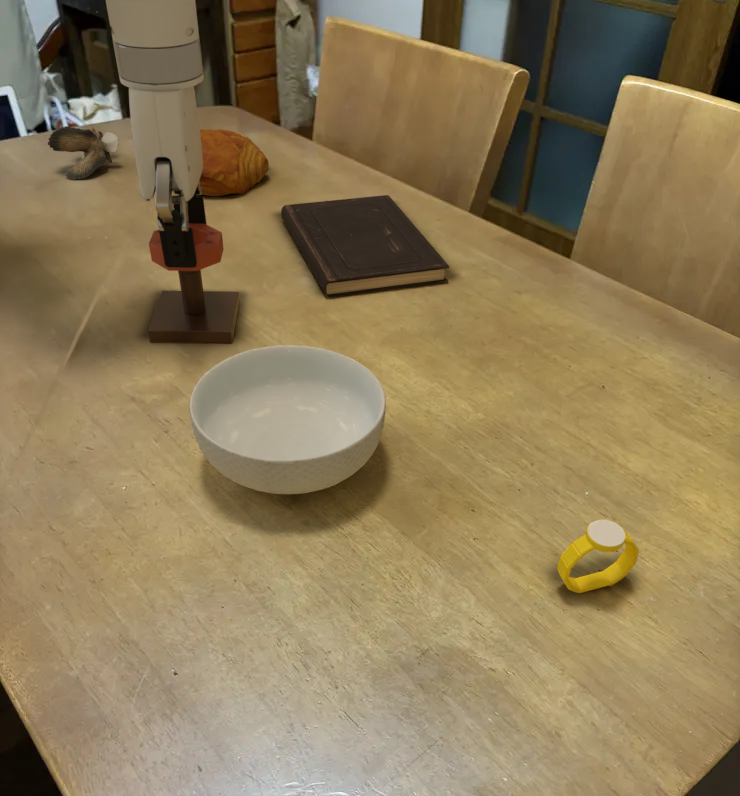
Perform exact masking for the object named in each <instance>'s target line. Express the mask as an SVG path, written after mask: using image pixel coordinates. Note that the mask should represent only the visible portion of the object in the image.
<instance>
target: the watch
mask: <svg viewBox="0 0 740 796" xmlns="http://www.w3.org/2000/svg"><path fill="white" fill-rule="evenodd" d="M624 544H625V545H624ZM623 546H624V550H623V552H622V553H621V554H620V556H618V558H617V560H616V561H614V562H613V563H612V564H611V565H609V566H608V567H606V568H605V569H603V570H602V571H598V572H593V573H590V574H586V575H582V576H578V577H572V576H570V575H571V572H572V569H573V568H574V567H575V566H576V564H578V562H579V561H580V560H581V559H582V558H583V557H584V556H586V555H588V554H589V553H591V552H592V551H594V550H597V551H599V552H602V553H615V552H617V551H619V550H621V548H623ZM639 552H640V550H639V547H638V546H637V544H636V543H635V541H634V540H633V539H632V537H631V536H630V534H629V533H628V532H627V530H625V529H624V528H623V527H621V525H620V524H618V523H616V522H615V521H612V520H609V519H597V520H594V521H591V522H590V523H589V524H588V525H587V527H586V530H585V534H583V535H582V536H580V537H578V538H576V539H575V540H574V541H572V542H571V543H570V544H569V545H568V546H567V548H566V549H565V550H564V551H563V552H562V553H561V555H560V557H559V560H558V563H557V566H556V570H557V572H558V574H559V576H560V578H561V580H562V581H563V583H564V585H565V587H566V589H568V590H569V591H571V592H574V593H576V594H582V593H587V592H589V591H593V590H597V589H600V588H604V587H605V588H606V587H613V586H614V585H615V584H617V583H618V582H619V581H620V580H622V579H623V578H625V577H626V576H627V575H629V573H630V572H631V570H632V569H633V567H634V566H635V565H636V564H637V561H638V556H639Z"/></svg>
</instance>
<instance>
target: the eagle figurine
mask: <svg viewBox="0 0 740 796" xmlns="http://www.w3.org/2000/svg"><path fill="white" fill-rule="evenodd" d="M49 136H50V137H48V142H47V146H49V148H50V149H52V151H54V152H66V153H75V152H82V153H83V155H82V157H81V159H80V160H78V162H76V163H75V165H74V166H73V167H72V168H70V169H69V170H67V171H66V172H65V177H66V178H65V179H68V180H82V179H86V178H87V177H90V176H91V175H92V174H94V172H95V171H96V170H97V169H98V168H99V167H101V166H103V165H105V164H106V162H108V163H111V164H112V163H113V159H112V157H111V154H116V153H117V151H118V149H119V146H120V142H119V138H118V136H117V135H116V134H114V133H113V132H110V131H106V132H104V134H103V132H102V131H100V130H98V131H97V130H96V129H95V128H94V127H91V129H90V128H87V129H83V128H75V127H71V126H70V125H67V126H66V125H65V126H64V127H63V126H62V127H59V128H58V129H55V130H54V131H52V133H51V134H50V135H49Z"/></svg>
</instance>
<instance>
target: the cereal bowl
mask: <svg viewBox="0 0 740 796" xmlns="http://www.w3.org/2000/svg"><path fill="white" fill-rule="evenodd" d="M188 408H189V410H188V411H189V419H190V421H191V422H190V423H191V427H192V428H191V429H192V432H193V435H194V438H195V442H196V443H197V445H198V447H199V450H200V451H201V453H202V455H203V457H204V458H206V460H207V462H208V463H210V465H211V466H212V467H213V468H214V469H215V470H217V471H218V472H219V473H220V474H221V475H223V476H224V477H225V478H226V479H230V480H231V481H232V482H234V483H235V484H238V485H240V486H241V487H246V488H248V489H251V490H255V491H258V492H261V493H266V494H276V495H300V494H302V495H303V494H306V493H307V494H309V493H313V492H317V491H321V490H325V489H328V488H331V487H334V486H336V485H337V484H339V483H341V482H344V481H345V480H346V479H348V478H351V477H352V476H353V475H354V474H355V473H357V472H358V471H359V470H360V469H361V468H362V467H364V466H365V465H366V463H367V462H368V461H369V460H370V458H371V457H372V456H373V455H374V453H375V450H376V449H377V447H378V444H379V443H380V441H381V437H382V433H383V430H384V427H385V418H386V408H387V399H386V393H385V389H384V387H383V385H382V383H381V381H380V380H379V378H378V377H377V376H376V375H375V374H374V373H373V372H372V371H371V370H370V369H369V368H368V367H366V366H365V365H363V363H360V362H359V361H357V360H355V359H353V358H352V357H350V356H347V355H344V354H343V353H340V352H337V351H334V350H329V349H327V348H322V347H316V346H309V345H298V344H297V345H296V344H281V345H280V344H279V345H271V346H262V347H256V348H253V349H249V350H245V351H242V352H239V353H237V354H234V355H232V356H229V357H228V358H225V359H224V360H222V361H220V362H218V363H217V364H215V365H213V366H212V367H211V368H210V369H208V370H207V371H206V372H205V373H204V374H203V375H202V376H201V377H200V378H199V379H198V381H197V383H196V384H195V386H194V387H193V389H192V392H191V395H190V399H189V407H188Z"/></svg>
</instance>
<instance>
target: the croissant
mask: <svg viewBox="0 0 740 796" xmlns="http://www.w3.org/2000/svg"><path fill="white" fill-rule="evenodd" d="M200 134H201V144H202V155H203V169H202V174H201V177H200V183H201V195H200V196H209V197H222V196H226V195H231V194H232V195H240V194H244V193H245V192H247V193H248V192H249V189H250V188H253V187H254V186H255V185H256V184H257V183H260V181H261V180H262V179H263V178H264V175H265V174H266V173H267V172H268V171H269V166H270V163H269V160H268V158H267V156H266V155H265V153H264V152H263V151H262V150H261V149H260V148H259V147H258V146H257V145H256V143H254V142H253V141H252V139H251V138H249V137H248V136H244V135H242V134H240V133H237V132H235V131H232V130H227V129H212V128H211V129H209V128H208V129H201V128H200Z"/></svg>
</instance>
